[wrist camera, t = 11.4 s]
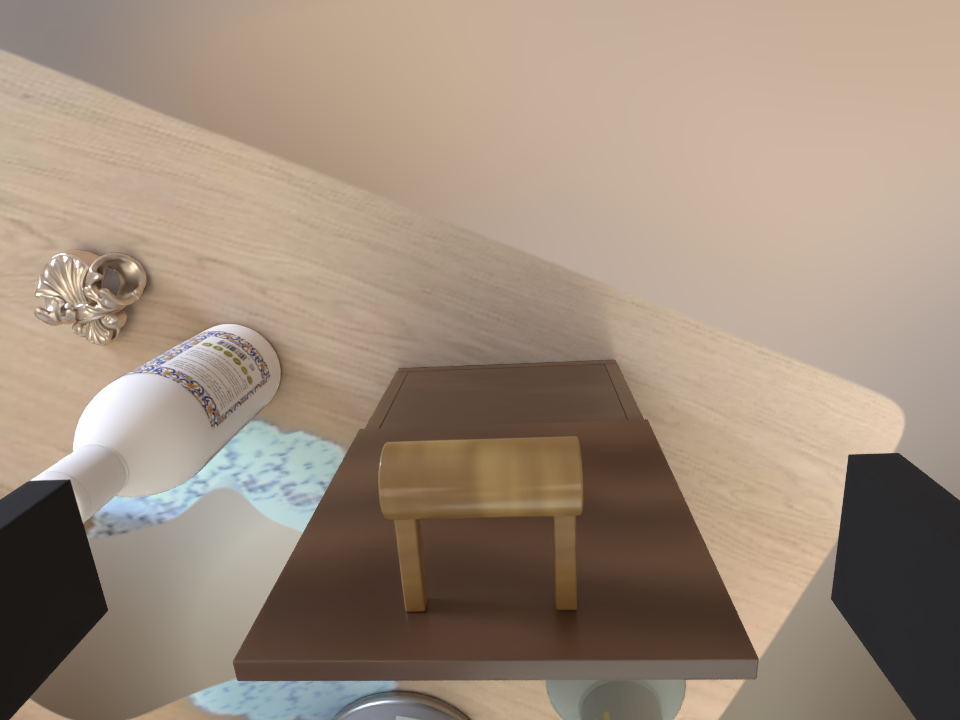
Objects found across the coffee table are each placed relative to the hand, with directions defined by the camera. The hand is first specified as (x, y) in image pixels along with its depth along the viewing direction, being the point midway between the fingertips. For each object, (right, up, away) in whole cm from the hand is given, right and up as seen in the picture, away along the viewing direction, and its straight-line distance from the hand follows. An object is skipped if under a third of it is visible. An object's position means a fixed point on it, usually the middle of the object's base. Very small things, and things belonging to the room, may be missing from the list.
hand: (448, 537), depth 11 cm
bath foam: (-18, +3, +37) cm, 41 cm away
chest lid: (+1, -4, +16) cm, 17 cm away
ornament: (-27, +8, +36) cm, 45 cm away
